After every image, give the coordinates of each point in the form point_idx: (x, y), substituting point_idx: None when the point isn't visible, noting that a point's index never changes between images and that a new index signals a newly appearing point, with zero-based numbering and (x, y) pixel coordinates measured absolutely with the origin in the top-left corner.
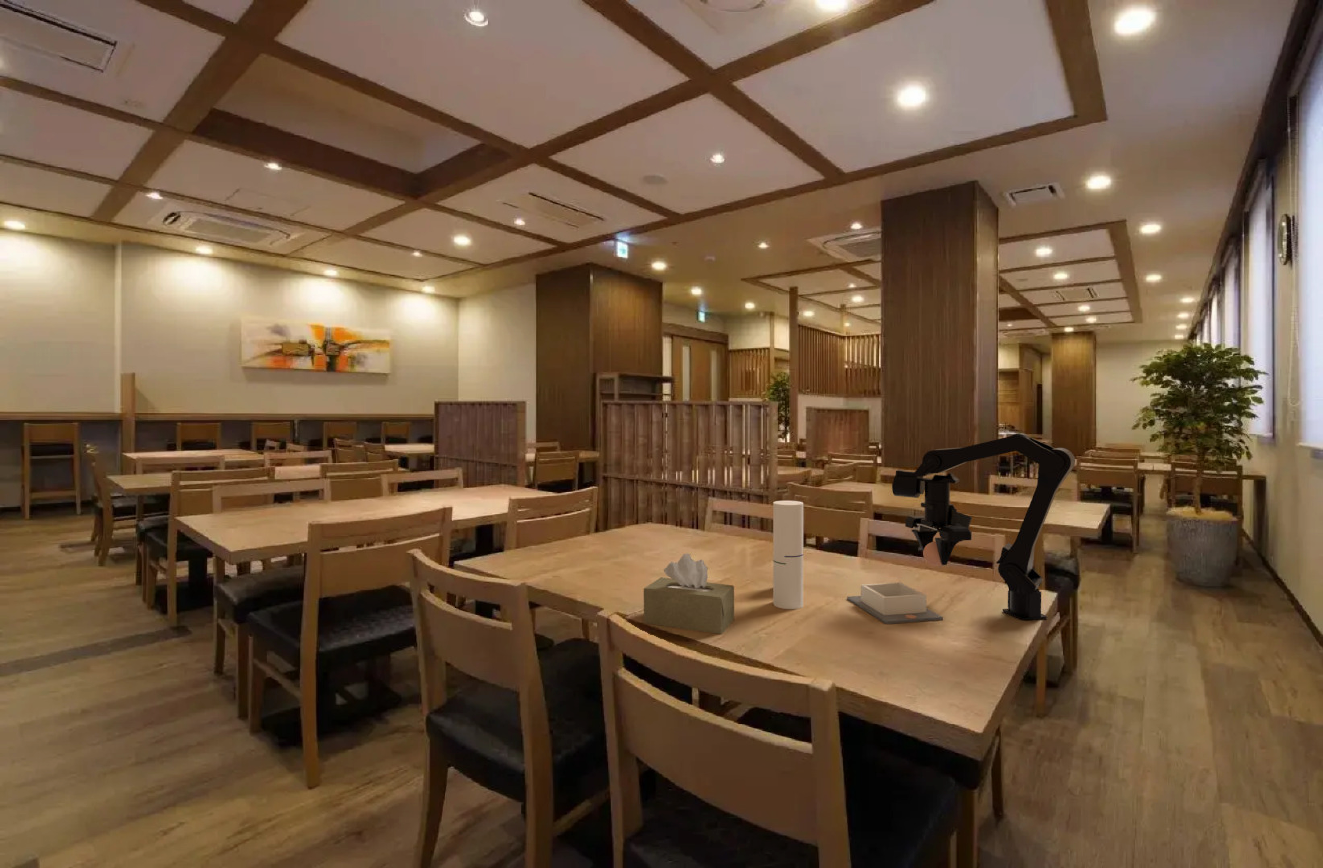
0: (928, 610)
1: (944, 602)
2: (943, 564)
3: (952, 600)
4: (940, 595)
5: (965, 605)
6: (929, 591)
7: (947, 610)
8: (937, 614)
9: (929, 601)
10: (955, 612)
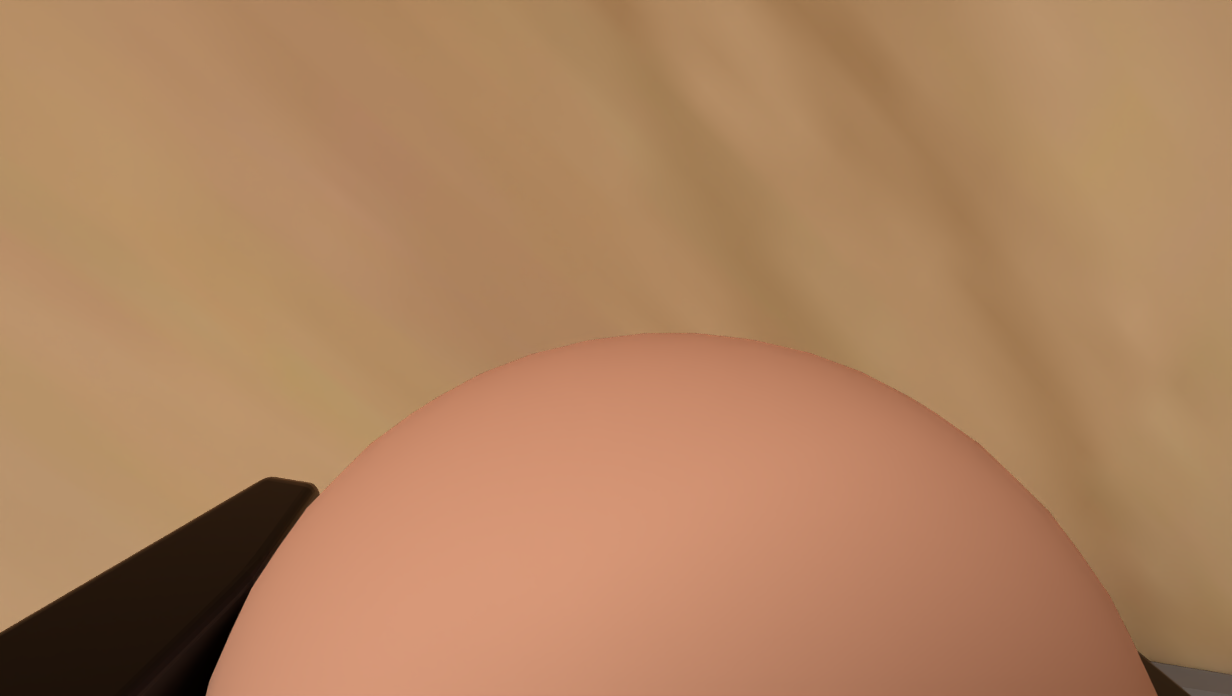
0: None
1: (861, 227)
2: None
3: (851, 38)
4: (574, 13)
5: (1123, 47)
6: (337, 14)
7: (1105, 433)
8: (1192, 692)
9: None
10: (1214, 406)
